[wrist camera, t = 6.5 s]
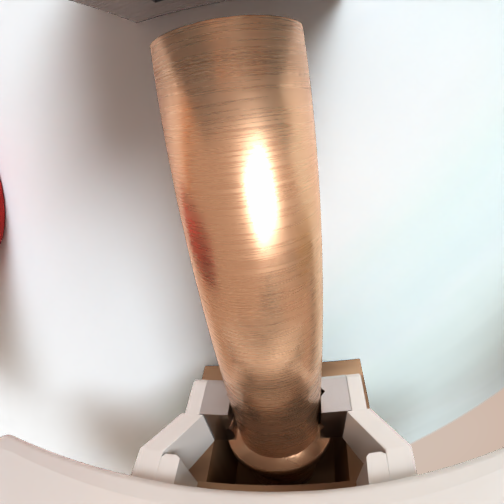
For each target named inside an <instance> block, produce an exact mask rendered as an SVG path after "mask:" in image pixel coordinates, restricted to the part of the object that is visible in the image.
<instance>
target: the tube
mask: <svg viewBox="0 0 504 504" xmlns="http://www.w3.org/2000/svg"><path fill="white" fill-rule="evenodd" d="M150 49H151V56H152V63H153V70H154V77H155V84H156V90H157V96H158V102H159V108H160V114H161V120H162V126H163V131H164V137H165V142H166V148H167V153H168V158H169V163H170V168H171V173H172V178H173V183H174V188H175V193H176V198H177V202H178V207H179V212H180V216H181V221H182V225H183V230H184V234H185V238H186V243H187V247H188V251H189V255H190V259H191V264H192V268H193V272H194V276H195V280H196V284H197V288H198V292H199V295H200V299H201V303H202V307H203V311H204V314H205V318H206V322H207V326H208V329H209V333H210V336H211V340H212V344H213V347H214V351H215V354H216V358H217V361H218V364H219V368H220V371H221V375H222V378H223V381H224V385H225V388H226V391H227V394H228V398H229V401H230V404H231V407H232V410H233V413H234V417H235V420H236V423H237V426H238V432H237V439H236V440H228V441H229V444H230V446H231V448H232V451H233V453H234V455H235V457H236V458H237V460H238V461H239V462H240V463H241V464H242V465H243V466H244V467H245V468H247V469H248V470H250V471H252V472H253V473H254V475H255V477H256V478H257V479H258V481H259V482H261V483H262V484H263V485H302V484H304V483H305V482H306V481H308V480H309V479H310V477H311V476H312V474H313V473H314V470H315V467H316V464H317V463H318V462H319V461H320V460H321V459H322V457H323V456H324V455H325V453H326V451H327V449H328V447H329V444H330V440H331V438H320V431H319V415H320V398H321V376H322V339H323V273H322V234H321V210H320V191H319V175H318V160H317V147H316V135H315V124H314V113H313V104H312V94H311V85H310V77H309V68H308V61H307V53H306V46H305V39H304V32H303V25H302V24H301V23H300V22H299V21H297V20H294V19H291V18H287V17H281V16H272V15H241V16H230V17H222V18H216V19H210V20H205V21H201V22H197V23H193V24H189V25H186V26H183V27H180V28H177V29H174V30H172V31H169V32H167V33H165V34H163V35H161V36H160V37H158V38H156V39H155V40H154V41H153V42H152V43H151V45H150Z"/></svg>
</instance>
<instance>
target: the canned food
mask: <svg viewBox="0 0 504 504" xmlns="http://www.w3.org/2000/svg"><path fill="white" fill-rule="evenodd" d="M4 224H5V209H4V197H3V191H2V185H1V181H0V243H1V240H2V238H3V232H4Z"/></svg>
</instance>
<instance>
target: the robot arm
mask: <svg viewBox="0 0 504 504" xmlns="http://www.w3.org/2000/svg"><path fill="white" fill-rule="evenodd" d="M319 431H320V438H332V437H343V439H344V440H345V441H346V443H347V444H348V445H349V446H350V448H351V449H352V450H353V451H354V452H355V454H356V455H357V456H358V457H359V459H360V460H361V461H362V462H363V463H364V464H363V467H362V469H361V471H360V474H359V476H358V478H357V481H356V484H357V486H355V487H347V488H338V489H327V490H313V491H290V492H257V491H234V490H220V489H209V488H200V487H197V484H198V482H197V481H196V480H195V478H194V477H193V476H192V474H191V473H190V472H189V469H190V468H191V467H192V466H193V465H194V464H195V462H196V461H197V460H198V459H199V458H200V457H201V456H202V455H203V453H204V452H205V451H206V450H207V449H208V448H209V447H210V445H211V444H212V443H213V442H214V439H216V440H236V439H237V432H238V426H237V423H236V420H235V417H234V413H233V410H232V407H231V404H230V401H229V398H228V394H227V391H226V388H225V385H224V381H222V380H198V379H196V380H195V381H194V383H193V386H192V389H191V393H190V396H189V400H188V404H187V407H186V411H185V413H181V414H180V415H179V416H177V417H176V418H175V419H174V420H173V421H172V422H171V423H169V424H168V425H167V426H166V427H165V428H164V429H162V430H161V431H160V432H159V433H158V434H157V435H155V436H154V437H153V438H152V439H151V440H149V441H148V442H147V443H146V444H145V445H143V446H142V447H141V448H140V450H139V453H138V456H137V459H136V462H135V465H134V468H133V471H132V474H131V476H130V475H126V474H121V473H117V472H113V471H110V470H106V469H102V468H99V467H95V466H92V465H89V464H85V463H82V462H79V461H76V460H73V459H70V458H67V457H64V456H61V455H59V454H56V453H53V452H50V451H48V450H45V449H43V448H40V447H38V446H35V445H33V444H31V443H28V442H26V441H24V440H21V439H19V438H17V437H15V436H12V435H4V436H2V437H0V504H504V447H503V448H501V449H498V450H496V451H493V452H491V453H488V454H485V455H483V456H480V457H477V458H475V459H472V460H469V461H466V462H463V463H459V464H456V465H453V466H450V467H446V468H443V469H440V470H436V471H432V472H428V473H424V474H420V475H417V470H416V466H415V461H414V456H413V452H412V447H411V445H410V444H409V443H408V442H407V441H406V440H405V439H404V438H403V437H401V436H400V435H399V434H398V433H397V432H396V431H395V430H394V429H393V428H392V427H391V426H389V425H388V424H387V423H386V422H385V421H384V420H383V419H382V418H381V417H380V416H379V415H377V414H376V413H375V412H374V411H373V410H372V409H371V408H370V409H367V406H366V401H365V395H364V390H363V385H362V380H361V375H360V374H349V375H337V376H327V377H321V398H320V415H319Z"/></svg>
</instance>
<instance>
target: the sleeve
mask: <svg viewBox="0 0 504 504" xmlns="http://www.w3.org/2000/svg"><path fill="white" fill-rule="evenodd" d="M70 1H74V2H77V3H81V4H84V5H87V6H90V7H94V8H97V9H100V10H103V11H106V12H109V13H112V14H114V15H117V16H120V17H123V18H125V19H128V20H131V21H133V22H136V23H137V22H140V21H144V20H147V19H150V18H154V17H157V16H161V15H164V14H168V13H172V12H175V11H179V10H184V9H188V8H192V7H197V6H201V5H206V4H211V3H217V2H222V1H228V0H70Z"/></svg>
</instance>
